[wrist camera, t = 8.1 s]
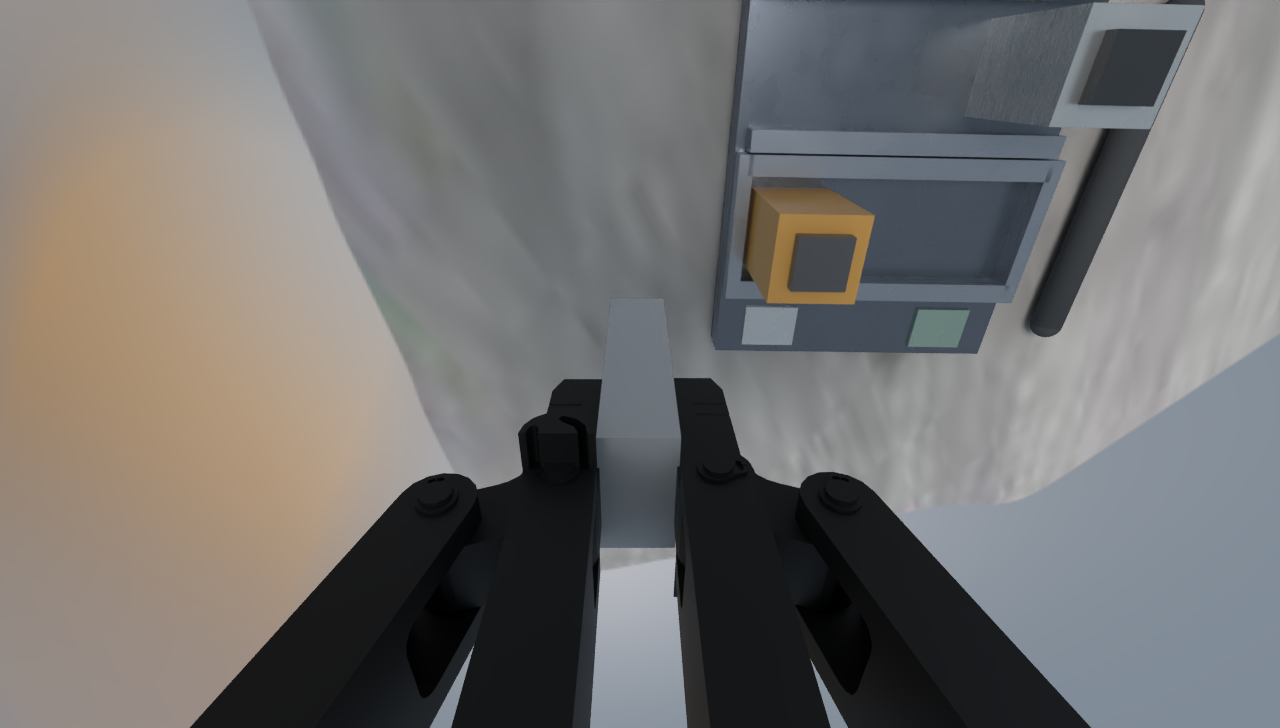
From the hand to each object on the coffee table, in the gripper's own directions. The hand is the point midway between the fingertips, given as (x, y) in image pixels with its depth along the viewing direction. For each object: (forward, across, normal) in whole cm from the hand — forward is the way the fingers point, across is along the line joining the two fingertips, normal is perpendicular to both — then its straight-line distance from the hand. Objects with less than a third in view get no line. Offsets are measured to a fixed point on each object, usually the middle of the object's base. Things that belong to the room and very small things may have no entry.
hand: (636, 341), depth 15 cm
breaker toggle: (+14, +8, 0) cm, 16 cm away
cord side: (+16, +25, +2) cm, 30 cm away
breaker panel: (+16, +13, +2) cm, 21 cm away
